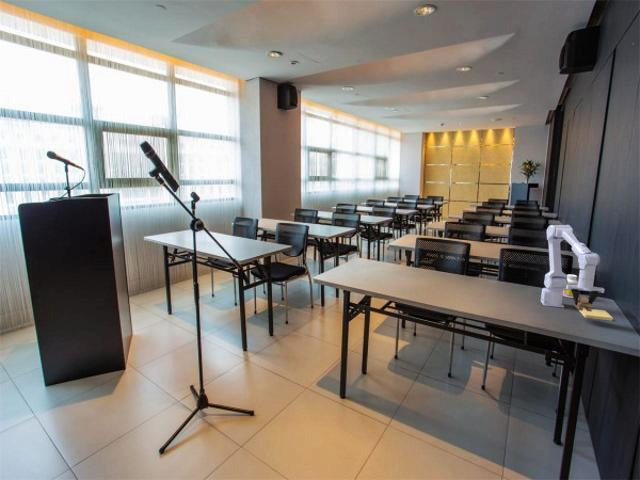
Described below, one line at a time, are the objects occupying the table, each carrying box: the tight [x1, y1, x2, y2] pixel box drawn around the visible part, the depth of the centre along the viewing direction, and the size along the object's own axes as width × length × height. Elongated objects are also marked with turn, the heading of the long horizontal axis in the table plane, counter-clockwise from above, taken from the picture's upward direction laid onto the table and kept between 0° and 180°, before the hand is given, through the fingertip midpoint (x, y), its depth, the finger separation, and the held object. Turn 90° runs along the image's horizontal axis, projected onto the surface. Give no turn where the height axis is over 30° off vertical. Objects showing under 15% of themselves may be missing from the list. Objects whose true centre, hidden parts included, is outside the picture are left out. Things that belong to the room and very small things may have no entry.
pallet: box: [573, 298, 593, 312], centre depth 165 cm, size 5×8×3 cm, turn 158°
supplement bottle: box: [563, 273, 579, 299], centre depth 197 cm, size 7×7×13 cm
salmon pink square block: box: [578, 295, 589, 303], centre depth 164 cm, size 3×3×2 cm
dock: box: [578, 307, 614, 322], centre depth 171 cm, size 11×10×2 cm
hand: (582, 304), depth 165 cm, fingers closed on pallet, 5 cm apart
